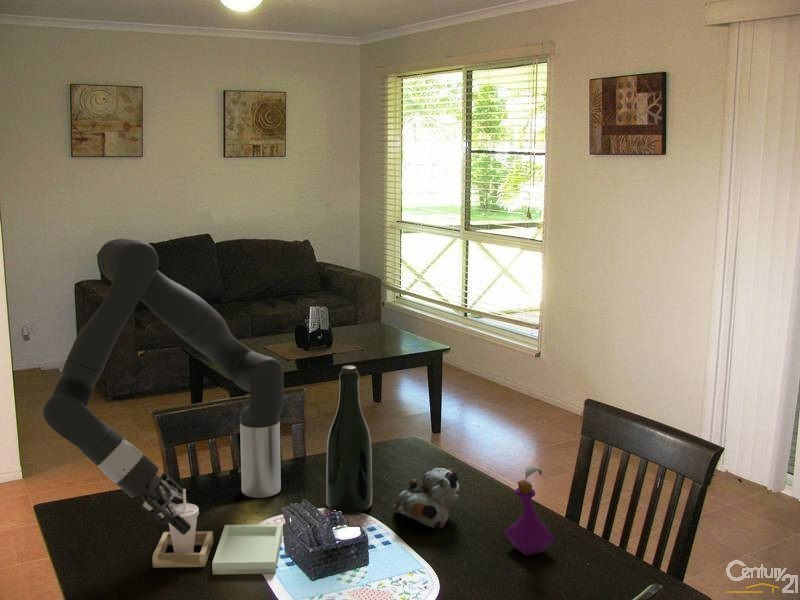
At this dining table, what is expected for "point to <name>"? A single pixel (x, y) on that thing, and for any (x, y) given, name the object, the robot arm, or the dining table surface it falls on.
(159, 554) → the collar
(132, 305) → the robot arm
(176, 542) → the smoothie
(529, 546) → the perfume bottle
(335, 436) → the green wine bottle
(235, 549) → the tray
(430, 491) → the lucky cat figurine
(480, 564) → the dining table surface
